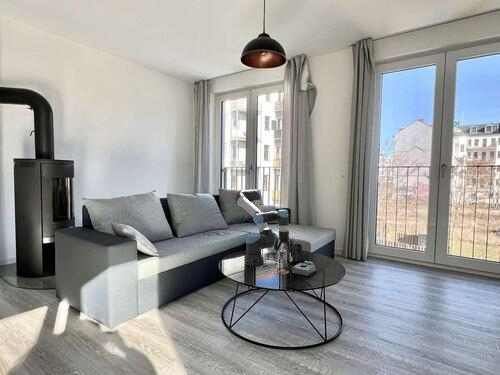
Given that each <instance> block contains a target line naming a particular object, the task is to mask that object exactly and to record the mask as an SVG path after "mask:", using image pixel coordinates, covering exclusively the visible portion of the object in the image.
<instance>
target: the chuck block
mask: <svg viewBox="0 0 500 375" xmlns="http://www.w3.org/2000/svg"><path fill="white" fill-rule="evenodd" d="M314 272H316V265H314V262H313V261H307V260H305V261H303V263H302V262H299V263H296V265H294V266H292V267H291V273H292V274H296V275H301V276H306V277H308V276H310V275H312V274H314Z"/></svg>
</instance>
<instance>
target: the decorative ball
mask: <svg viewBox="0 0 500 375" xmlns="http://www.w3.org/2000/svg"><path fill="white" fill-rule="evenodd" d="M272 232H275V233H276V234H277V237H279V231H275V230H272ZM279 242H280V240H279V241H278V244H279ZM284 245H285V243H282V244H281V246H280V248H279V250H280V251H281V250H284ZM265 249H266V250H267V251H268V252H269V253H273V254H276V250H274V247H271V248H265Z"/></svg>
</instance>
